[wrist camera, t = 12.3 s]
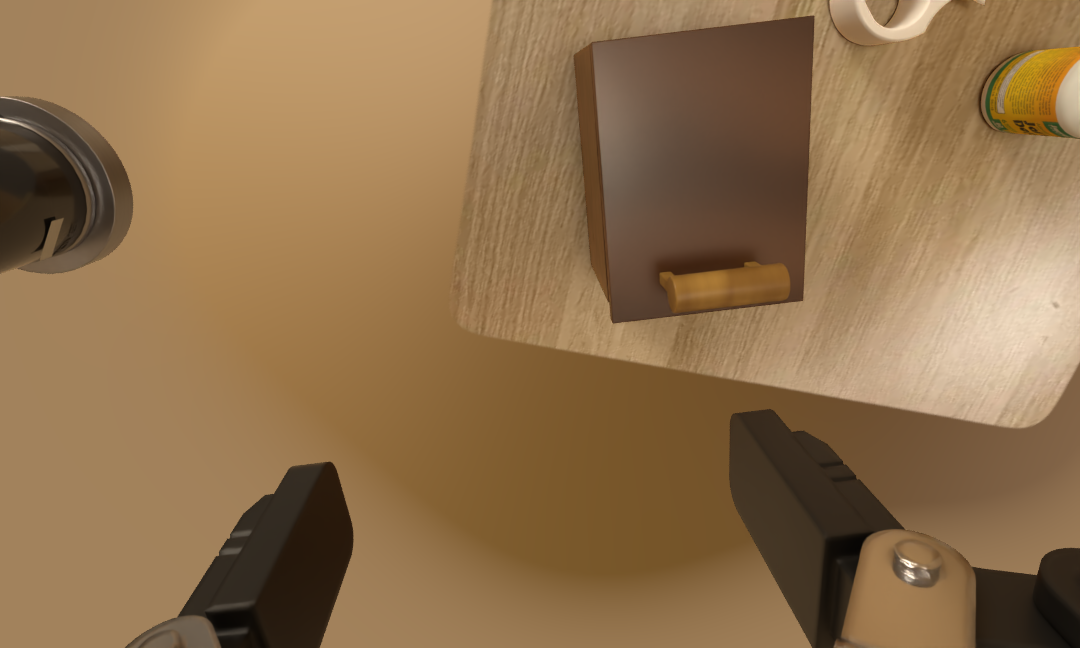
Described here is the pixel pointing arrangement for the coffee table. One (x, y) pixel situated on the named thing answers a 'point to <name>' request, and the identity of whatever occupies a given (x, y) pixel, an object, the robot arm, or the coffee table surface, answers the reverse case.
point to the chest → (591, 165)
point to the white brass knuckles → (907, 23)
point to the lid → (704, 166)
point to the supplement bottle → (1035, 94)
